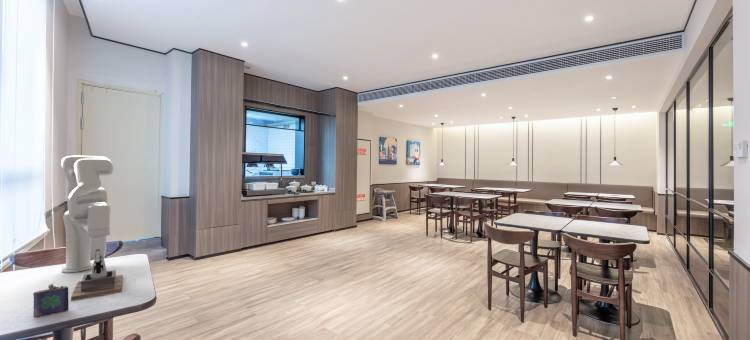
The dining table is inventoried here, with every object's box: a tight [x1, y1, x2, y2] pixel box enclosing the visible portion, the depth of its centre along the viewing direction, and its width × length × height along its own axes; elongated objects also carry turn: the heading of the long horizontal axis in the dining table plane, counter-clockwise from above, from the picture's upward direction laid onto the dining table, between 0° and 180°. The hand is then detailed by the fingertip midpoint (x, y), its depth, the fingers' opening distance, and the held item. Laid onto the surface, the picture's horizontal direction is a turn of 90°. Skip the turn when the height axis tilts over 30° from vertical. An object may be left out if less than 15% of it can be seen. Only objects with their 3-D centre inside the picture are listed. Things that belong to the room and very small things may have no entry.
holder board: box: [70, 269, 124, 302], centre depth 145 cm, size 22×16×6 cm
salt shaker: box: [90, 257, 108, 279], centre depth 145 cm, size 6×6×13 cm
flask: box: [33, 283, 70, 318], centre depth 120 cm, size 9×3×11 cm, turn 129°
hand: (99, 273), depth 145 cm, fingers closed on salt shaker, 3 cm apart
